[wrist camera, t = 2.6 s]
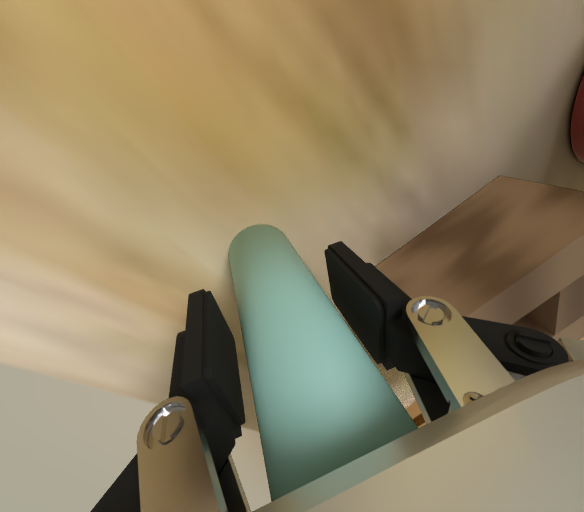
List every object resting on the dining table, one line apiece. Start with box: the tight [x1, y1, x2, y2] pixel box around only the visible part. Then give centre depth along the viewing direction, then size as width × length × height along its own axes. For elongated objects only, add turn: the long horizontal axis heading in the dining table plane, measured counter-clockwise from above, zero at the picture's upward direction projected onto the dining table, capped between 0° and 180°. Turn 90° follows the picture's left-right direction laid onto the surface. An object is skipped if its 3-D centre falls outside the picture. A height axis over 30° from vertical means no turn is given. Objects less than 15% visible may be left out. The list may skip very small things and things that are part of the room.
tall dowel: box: [229, 225, 418, 502], centre depth 9 cm, size 3×3×11 cm
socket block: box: [376, 176, 584, 341], centre depth 17 cm, size 12×12×6 cm
